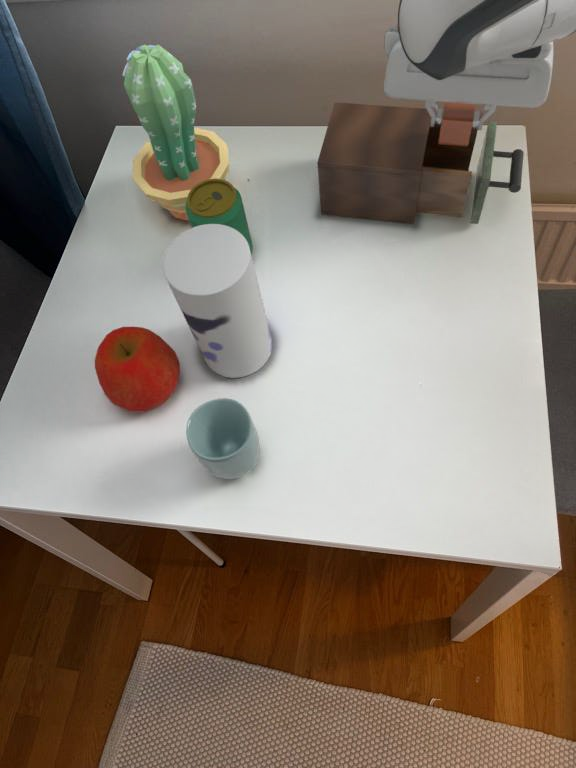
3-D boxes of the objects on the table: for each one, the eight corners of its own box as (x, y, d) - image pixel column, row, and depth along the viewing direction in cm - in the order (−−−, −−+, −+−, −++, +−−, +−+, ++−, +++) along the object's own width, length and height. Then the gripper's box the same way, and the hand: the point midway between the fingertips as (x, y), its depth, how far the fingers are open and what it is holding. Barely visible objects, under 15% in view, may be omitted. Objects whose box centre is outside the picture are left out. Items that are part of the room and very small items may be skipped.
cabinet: (424, 165, 94) (432, 108, 85) (414, 224, 89) (421, 171, 79) (336, 157, 97) (334, 102, 87) (321, 214, 92) (317, 162, 82)
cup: (211, 494, 73) (192, 469, 64) (199, 438, 77) (179, 408, 68) (271, 476, 73) (259, 449, 64) (256, 422, 77) (243, 389, 68)
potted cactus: (246, 166, 98) (215, 18, 76) (229, 238, 91) (189, 98, 69) (160, 164, 100) (104, 19, 78) (137, 233, 94) (69, 97, 72)
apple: (198, 362, 82) (178, 322, 72) (163, 430, 78) (137, 396, 68) (133, 341, 84) (105, 300, 75) (96, 405, 80) (62, 369, 71)
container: (193, 369, 81) (147, 284, 64) (217, 311, 85) (181, 216, 68) (260, 385, 79) (232, 301, 61) (281, 324, 83) (261, 230, 65)
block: (470, 126, 81) (476, 101, 77) (467, 146, 79) (473, 122, 76) (441, 124, 82) (445, 99, 78) (438, 144, 80) (441, 119, 76)
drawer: (515, 171, 90) (530, 124, 83) (510, 227, 86) (525, 182, 78) (398, 161, 94) (402, 114, 86) (387, 214, 89) (391, 170, 81)
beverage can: (264, 253, 89) (251, 196, 79) (223, 283, 88) (205, 228, 77) (233, 225, 93) (217, 166, 82) (193, 253, 91) (171, 197, 80)
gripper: (380, 37, 67) (376, 135, 80) (567, 46, 63) (532, 148, 76) (389, 4, 70) (384, 104, 82) (568, 11, 66) (535, 115, 78)
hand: (456, 125), depth 79 cm, fingers closed on block, 4 cm apart
